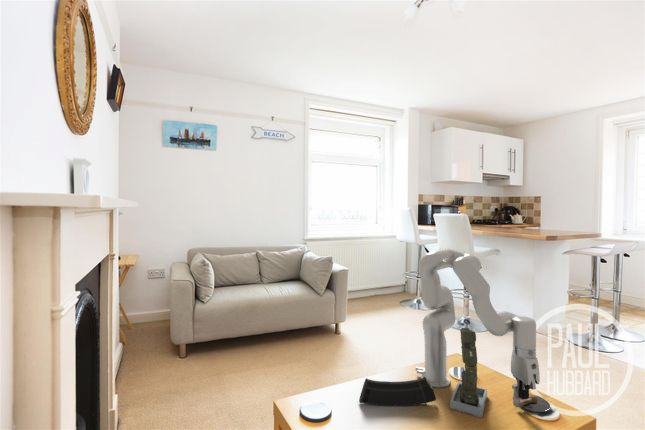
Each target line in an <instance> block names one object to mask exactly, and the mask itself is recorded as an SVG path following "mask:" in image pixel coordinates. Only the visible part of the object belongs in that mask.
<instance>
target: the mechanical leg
mask: <svg viewBox="0 0 645 430" xmlns="http://www.w3.org/2000/svg"><path fill="white" fill-rule="evenodd" d="M476 342H477V333H476V331H475V330H472V329H470V328H469V327H468V328H467V327H466V328H465V327H461V329H460V344H461V357H462V363H463V364H464V369H463V370H462V371H461V383H462V388H461V390H460V393H459V395H460V402H462V403H464V404H468V405H471V406H475V407H478V404H479V396H478V394H477V387H478V384H477V383H478V354H477V346H476Z"/></svg>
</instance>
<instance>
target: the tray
mask: <svg viewBox="0 0 645 430" xmlns="http://www.w3.org/2000/svg"><path fill="white" fill-rule="evenodd" d="M461 388H462V382H457V383H456V386H455V388H454V391H453V393H452V396H451V398H450V402H449V407H450V408H449V409H450V410H453V411H456V412H460V413H462V414H463V413H464V414H467V415H471V416H474V417H478V418H480V419H481V418H483V416H484V411H485V408H486V403H487V398H488V389H486V388H483V387H479V386H477V394H478V396H479V404H478V407H475V406H471V405H468V404H464V403H462V402H460V395H459V393H460V390H461Z"/></svg>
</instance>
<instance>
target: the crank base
mask: <svg viewBox="0 0 645 430" xmlns="http://www.w3.org/2000/svg"><path fill="white" fill-rule="evenodd" d="M535 395H536V394H535ZM536 396H537V397H538V400H537V403H532V402H530V403H527V404H524V405H521V406H520V407H519V408H520V409H522V410H524V411H526V412H529V413H533V414H536V415H537V414H538V415H539V414H540V415H544V414H548V413H550V411H551V404H550V403H549V401H548V400H546V399H545V398H543V397H541V396H539V395H536ZM520 399H521V398H520ZM549 408H550V409H549ZM547 409H549V410H547ZM545 410H547V411H545Z"/></svg>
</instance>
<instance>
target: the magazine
mask: <svg viewBox="0 0 645 430" xmlns="http://www.w3.org/2000/svg"><path fill="white" fill-rule="evenodd" d="M361 389H362V390H361V392H360V395H359V398H358V399H359V400H358V403H359V404H366V405H373V406H382V407H409V406H410V407H411V406H416V405H423V404H424V405H426V406H427V404H428V403H432V402H435V401H436V400H437V397H436V393H435V390H434V388H433V387H432V386H431V384H430V382H429V380H428V382H427V380H426V378H425V377H423V378H422V379H421V378H416V379H414V380H413V379H412V380H404V381H403V380H402V381H387V380H386V381H383V380H382V381H381V380H373V379H368V378H367V377H366V378H365V380H364V382H363V385H362V388H361Z"/></svg>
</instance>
